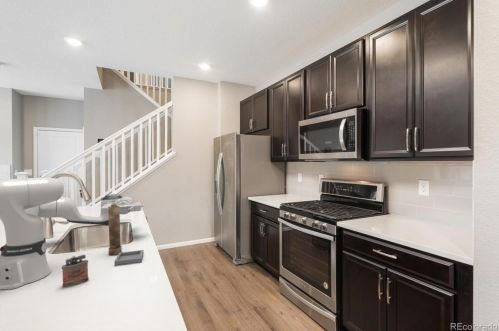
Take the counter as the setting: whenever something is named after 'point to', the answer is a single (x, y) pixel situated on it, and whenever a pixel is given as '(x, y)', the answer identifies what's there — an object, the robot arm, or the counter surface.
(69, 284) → the lighter
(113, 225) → the pepper mill
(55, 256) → the counter surface
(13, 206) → the robot arm
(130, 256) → the tray
